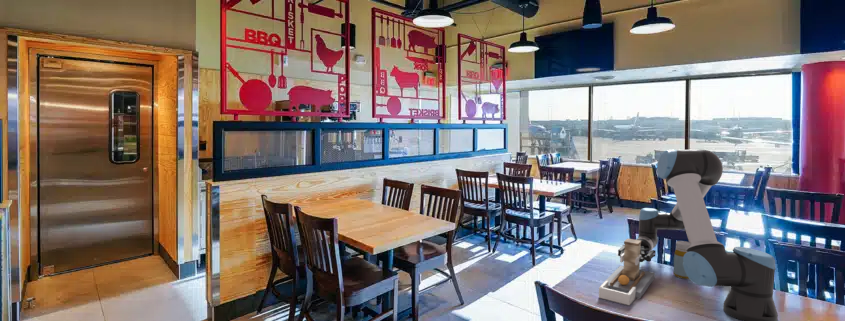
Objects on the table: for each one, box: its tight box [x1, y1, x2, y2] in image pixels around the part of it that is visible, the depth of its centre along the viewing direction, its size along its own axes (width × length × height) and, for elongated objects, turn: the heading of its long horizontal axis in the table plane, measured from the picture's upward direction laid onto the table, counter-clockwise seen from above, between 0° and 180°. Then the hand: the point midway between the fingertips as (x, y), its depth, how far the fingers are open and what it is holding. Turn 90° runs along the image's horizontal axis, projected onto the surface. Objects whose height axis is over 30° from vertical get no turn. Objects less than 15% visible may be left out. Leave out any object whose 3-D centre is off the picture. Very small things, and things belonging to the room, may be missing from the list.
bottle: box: [672, 240, 690, 280], centre depth 182 cm, size 7×7×15 cm
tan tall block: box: [622, 237, 641, 281], centre depth 175 cm, size 5×8×15 cm, turn 140°
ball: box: [618, 275, 629, 285], centre depth 168 cm, size 4×4×4 cm
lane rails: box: [610, 268, 645, 290], centre depth 173 cm, size 8×21×1 cm, turn 140°
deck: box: [601, 265, 656, 300], centre depth 175 cm, size 14×26×2 cm, turn 140°
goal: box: [598, 280, 637, 307], centre depth 162 cm, size 11×9×4 cm
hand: (628, 260), depth 172 cm, fingers closed on tan tall block, 5 cm apart
